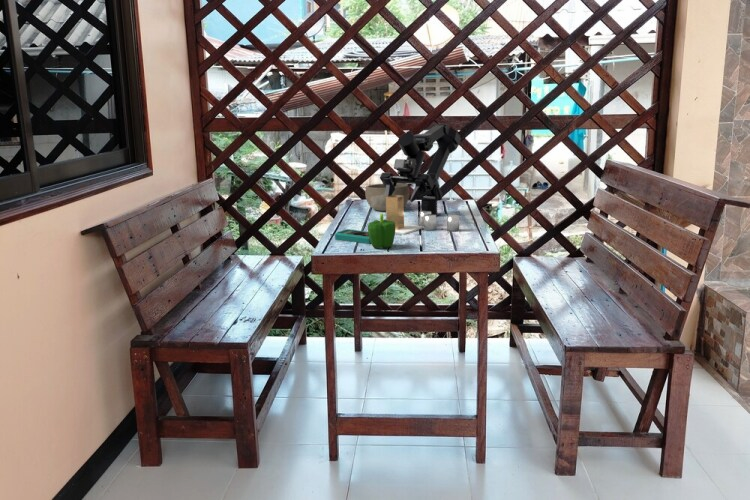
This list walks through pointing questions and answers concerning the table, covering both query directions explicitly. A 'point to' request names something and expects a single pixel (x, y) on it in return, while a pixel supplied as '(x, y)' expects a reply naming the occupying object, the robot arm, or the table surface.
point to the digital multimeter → (353, 236)
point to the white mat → (408, 229)
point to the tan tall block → (395, 210)
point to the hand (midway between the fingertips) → (399, 200)
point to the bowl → (384, 195)
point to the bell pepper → (381, 233)
